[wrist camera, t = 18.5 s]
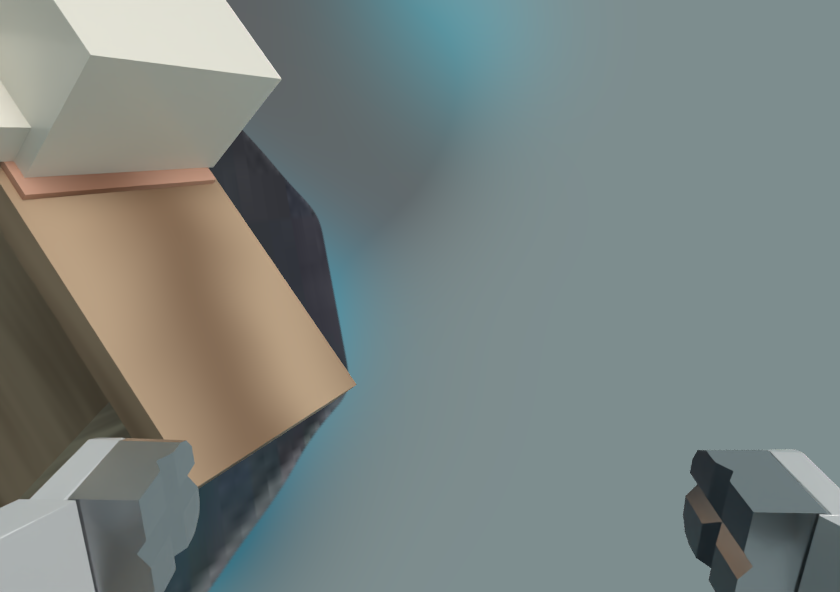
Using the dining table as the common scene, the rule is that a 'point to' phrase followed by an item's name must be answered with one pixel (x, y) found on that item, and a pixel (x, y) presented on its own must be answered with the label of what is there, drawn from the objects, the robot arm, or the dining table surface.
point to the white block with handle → (125, 84)
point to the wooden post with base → (145, 324)
